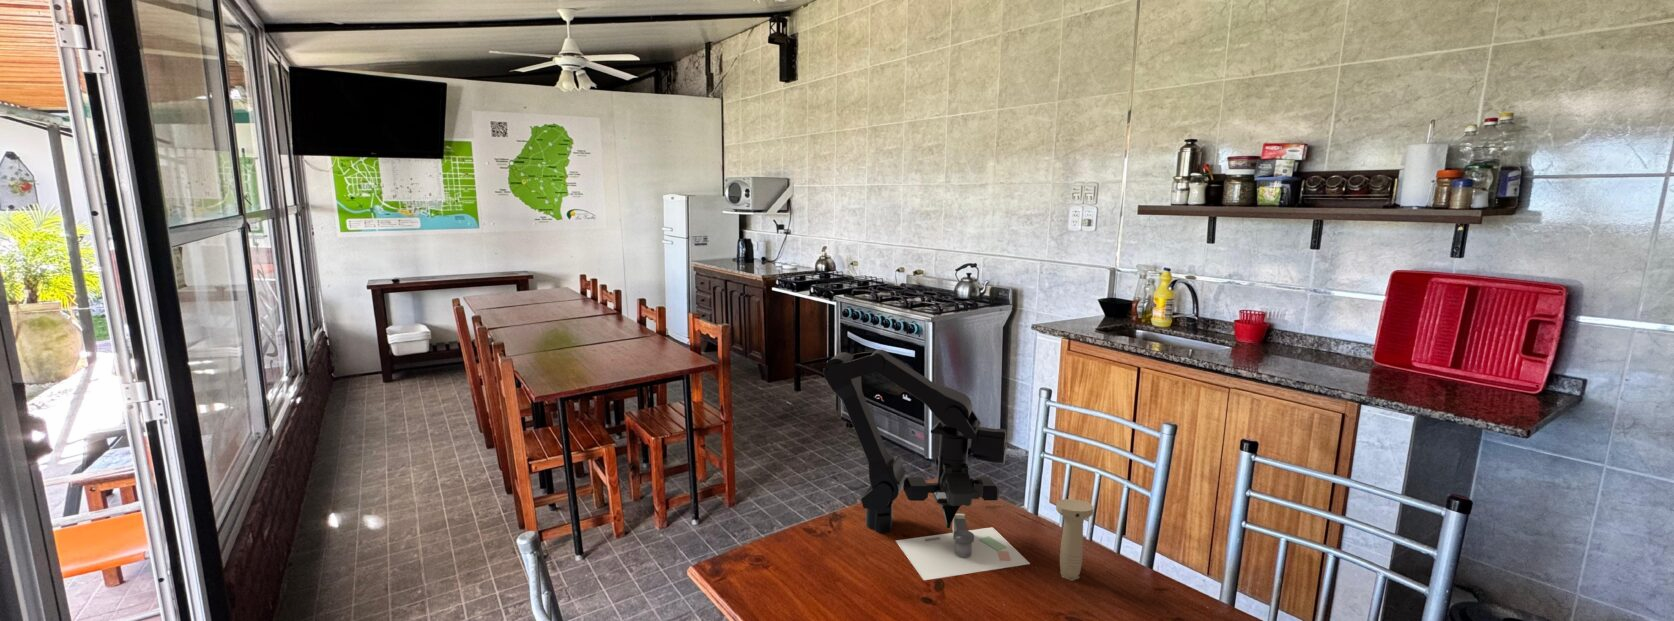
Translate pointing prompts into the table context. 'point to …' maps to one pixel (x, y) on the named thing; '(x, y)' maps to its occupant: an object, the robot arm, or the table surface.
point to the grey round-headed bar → (962, 536)
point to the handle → (1072, 535)
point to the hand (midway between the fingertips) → (947, 527)
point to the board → (941, 561)
